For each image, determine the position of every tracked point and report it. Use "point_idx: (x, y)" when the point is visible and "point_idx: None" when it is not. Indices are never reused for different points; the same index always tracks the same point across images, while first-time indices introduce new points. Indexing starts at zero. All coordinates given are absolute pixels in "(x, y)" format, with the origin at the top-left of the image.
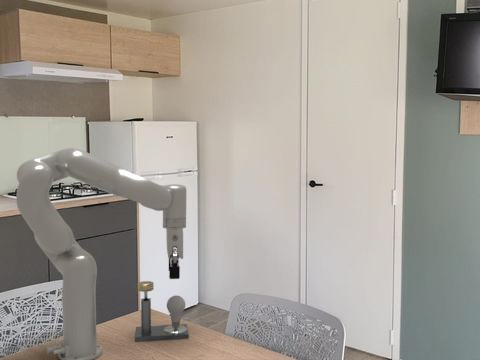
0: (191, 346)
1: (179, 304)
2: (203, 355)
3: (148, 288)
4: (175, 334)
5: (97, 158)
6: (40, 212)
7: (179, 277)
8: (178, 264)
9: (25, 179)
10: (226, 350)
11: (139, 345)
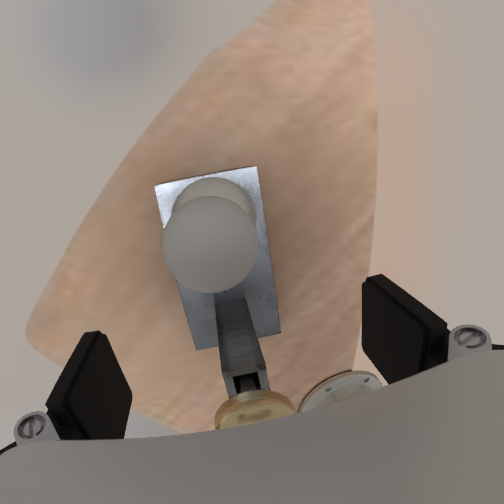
0: (318, 151)
1: (250, 224)
2: (377, 116)
3: (293, 410)
4: (260, 213)
5: None
6: None
7: (383, 275)
8: (487, 341)
9: None
10: (344, 50)
11: (304, 307)
